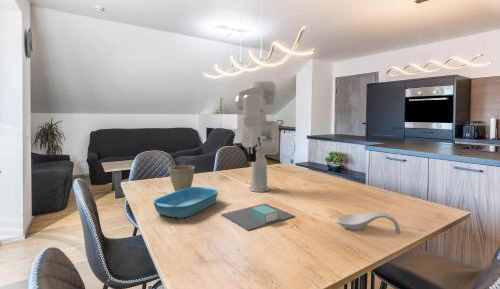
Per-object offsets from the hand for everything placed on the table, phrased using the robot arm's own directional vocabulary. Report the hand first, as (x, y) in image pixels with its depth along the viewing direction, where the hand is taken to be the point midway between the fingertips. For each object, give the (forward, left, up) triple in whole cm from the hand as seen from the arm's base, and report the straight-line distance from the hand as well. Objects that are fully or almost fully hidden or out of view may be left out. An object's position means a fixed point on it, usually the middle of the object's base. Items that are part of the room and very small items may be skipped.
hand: (252, 161), depth 133 cm
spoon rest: (+42, +28, -26) cm, 57 cm away
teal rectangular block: (+4, 0, -22) cm, 23 cm away
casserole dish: (-26, -21, -26) cm, 43 cm away
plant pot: (-52, -14, -25) cm, 59 cm away
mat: (+4, 0, -25) cm, 25 cm away
